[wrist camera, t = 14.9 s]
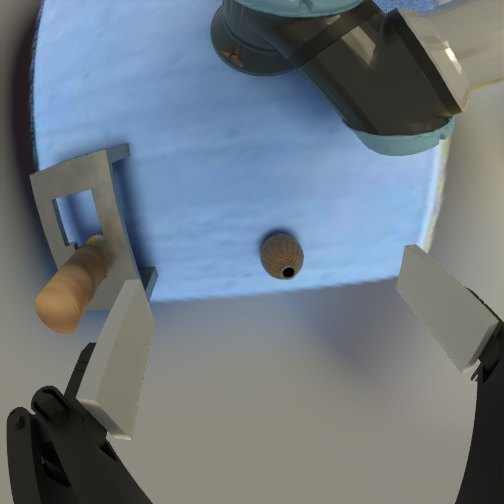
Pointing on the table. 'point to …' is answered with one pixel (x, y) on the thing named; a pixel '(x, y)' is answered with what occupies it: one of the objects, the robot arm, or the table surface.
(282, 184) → the table surface
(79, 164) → the keyhole plate
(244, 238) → the table surface
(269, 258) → the vase
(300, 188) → the table surface
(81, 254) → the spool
